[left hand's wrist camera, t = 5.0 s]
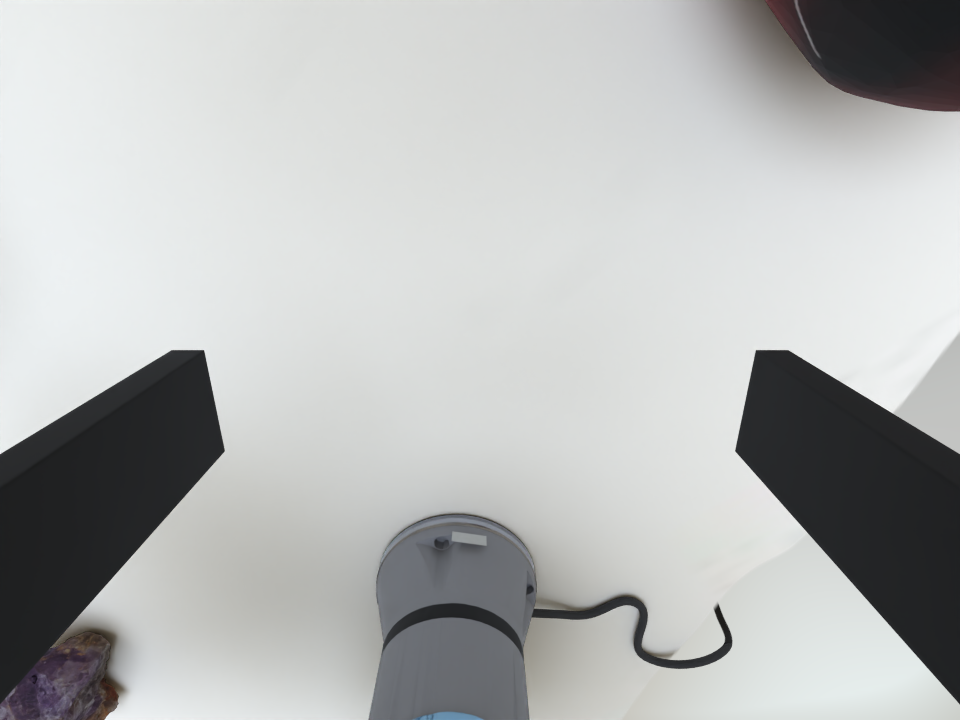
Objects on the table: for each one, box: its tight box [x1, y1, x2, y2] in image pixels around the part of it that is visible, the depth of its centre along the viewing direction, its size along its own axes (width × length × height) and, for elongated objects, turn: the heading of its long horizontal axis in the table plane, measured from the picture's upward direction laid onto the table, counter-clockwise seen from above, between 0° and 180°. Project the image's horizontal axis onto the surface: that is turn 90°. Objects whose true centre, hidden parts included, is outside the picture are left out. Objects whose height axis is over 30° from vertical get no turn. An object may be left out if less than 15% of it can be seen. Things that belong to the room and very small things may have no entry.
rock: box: [0, 632, 119, 720], centre depth 50 cm, size 12×9×10 cm
